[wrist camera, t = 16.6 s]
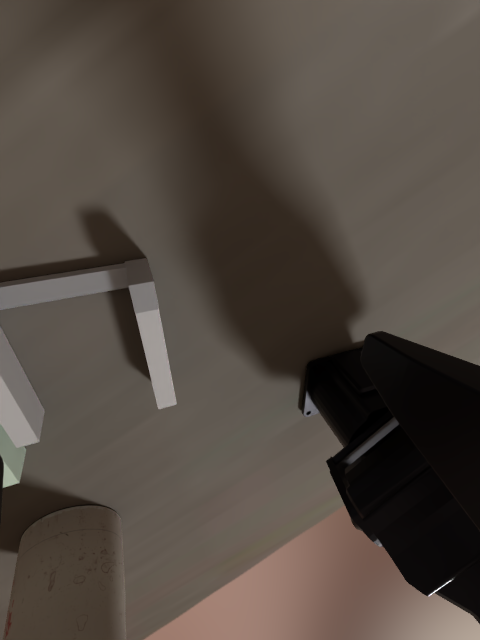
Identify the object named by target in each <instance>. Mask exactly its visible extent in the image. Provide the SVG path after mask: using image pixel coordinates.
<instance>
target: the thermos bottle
mask: <svg viewBox="0 0 480 640" xmlns="http://www.w3.org/2000/svg"><path fill="white" fill-rule="evenodd" d="M3 640H126V605H125V580H124V561H123V542H122V524H121V519H120V516H119V515H118V514H117V513H116V512H115V511H113V510H112V509H109V508H106V507H102V506H93V505H86V506H76V507H71V508H66V509H63V510H59V511H56V512H54V513H51V514H49V515H46V516H45V517H43V518H41V519H39V520H38V521H36V522H35V523H33V524H32V525H31V526H30V527H29V528H28V529H27V530H26V531H25V532H24V534H23V536H22V537H21V541H20V546H19V551H18V557H17V563H16V568H15V574H14V580H13V585H12V591H11V597H10V603H9V608H8V614H7V620H6V625H5V631H4V637H3Z"/></svg>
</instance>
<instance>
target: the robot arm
mask: <svg viewBox="0 0 480 640" xmlns="http://www.w3.org/2000/svg"><path fill="white" fill-rule="evenodd" d="M318 413H320V414H321V415H322V417H323V418H324V420H325V421H326V422H327V424H328V425H329V427H330V428H331V430H332V431H333V432H334V434H335V435H336V437H337V438H338V440H339V441H340V443H341V444H342V445H343V447H344V448H343V449H342V450H341V451H340V452H338V453H337V454H336V455H335V456H334V457H330V458H329V459H328V460H327V461H326V462H327V464H328V467H329V469H330V474H331V476H332V478H333V480H334V482H335V484H336V487H337V489H338V491H339V493H340V495H341V498H342V500H343V502H344V504H345V506H346V509H347V511H348V513H349V515H350V517H351V521H352V523H353V525H354V526H355V528H356V529H358V530H361V531H363V532H364V533H365V534H366V535H367V536H368V538H370V539H371V540H372V541H373V542H374V543H375V544H377V545H378V546H380V547H384V548H385V549H386V551H387V552H388V554H389V555H390V557H391V558H392V560H393V561H394V563H395V564H396V566H397V567H398V569H399V570H400V572H401V574H402V575H403V577H404V578H405V580H406V581H407V582H408V583H409V584H410V585H412V586H413V587H415V588H416V589H417V590H419V591H420V592H422V593H423V594H424V595H426V596H430V595H431V594H433V593H436V594H437V595H439V596H441V597H442V598H444V599H446V600H447V601H449V602H451V603H453V604H454V605H456V606H458V607H460V608H461V609H463V610H465V611H466V612H468V613H470V614H471V615H472V616H474V618H475V619H476V620H477V621H478V623H479V624H480V366H478V365H476V364H473V363H470V362H467V361H464V360H462V359H459V358H456V357H453V356H450V355H448V354H445V353H442V352H439V351H436V350H434V349H431V348H428V347H425V346H422V345H420V344H417V343H414V342H411V341H408V340H406V339H403V338H400V337H397V336H394V335H392V334H389V333H386V332H383V331H378V332H375V333H371V334H368V335H367V336H366V337H365V341H364V345H363V348H359V349H356V350H352V351H348V352H344V353H341V354H337V355H333V356H330V357H326V358H322V359H318V360H315V361H312V362H310V363H309V364H308V365H307V370H306V379H305V387H304V396H303V404H302V414H303V415H304V416H305V417H308V416H311V415H315V414H318ZM3 476H4V463H3V459H2V457H1V455H0V523H1V507H2V492H3Z"/></svg>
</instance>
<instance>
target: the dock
mask: <svg viewBox="0 0 480 640" xmlns="http://www.w3.org/2000/svg"><path fill="white" fill-rule="evenodd" d="M123 288H129V290H130V294H131V298H132V303H133V307H134V311H135V314H136V318H137V322H138V326H139V330H140V335H141V339H142V343H143V347H144V351H145V355H146V360H147V364H148V368H149V372H150V376H151V381H152V385H153V389H154V393H155V397H156V401H157V406H158V409H162V408H165V407H169V406H173V405H176V404H177V403H176V397H175V392H174V387H173V382H172V376H171V371H170V366H169V361H168V355H167V350H166V345H165V340H164V334H163V329H162V324H161V319H160V313H159V306H158V301H157V295H156V290H155V285H154V280H153V277H152V273H151V270H150V267H149V263H148V260H147V258H143V259H137V260H130V261H125V263H122V264H116V265H109V266H103V267H96V268H90V269H84V270H77V271H71V272H64V273H58V274H52V275H45V276H39V277H32V278H26V279H19V280H13V281H7V282H0V310H3V309H8V308H14V307H20V306H26V305H31V304H37V303H43V302H48V301H54V300H60V299H66V298H71V297H77V296H83V295H88V294H94V293H100V292H106V291H111V290H117V289H123ZM44 412H45V410H44V409H43V407H42V405H41V403H40V401H39V399H38V397H37V395H36V393H35V391H34V390H33V388H32V386H31V384H30V382H29V380H28V378H27V376H26V374H25V372H24V370H23V369H22V367H21V365H20V363H19V361H18V359H17V357H16V355H15V353H14V351H13V350H12V348H11V346H10V344H9V342H8V340H7V338H6V336H5V334H4V332H3V330H2V329H1V327H0V424H1V425H2V427H3V428H4V430H5V431H6V433H7V434H8V436H9V437H10V439H11V440H12V442H13V443H14V445H15V446H16V448H19V447H23V446H26V445H30V444H34V443H37V442H39V441H40V435H41V429H42V423H43V417H44Z"/></svg>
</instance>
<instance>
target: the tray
mask: <svg viewBox="0 0 480 640" xmlns="http://www.w3.org/2000/svg"><path fill="white" fill-rule="evenodd" d="M25 453H26V449H25V447H24V446H23V447H19V448H16V446H15V445H14V443H13V442H12V440H11V439H10V437H9V436H8V434H7V433H6V431H5V430H4V428H3V427H2V425H1V424H0V455H1V457H2V459H3V463H4V476H3V488H4V487H7V486H11V485H14V484H17V483H20V478H21V473H22V468H23V463H24V458H25Z"/></svg>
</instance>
